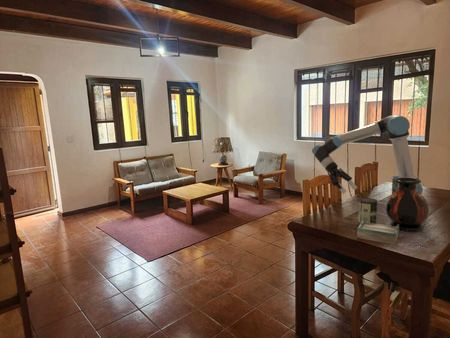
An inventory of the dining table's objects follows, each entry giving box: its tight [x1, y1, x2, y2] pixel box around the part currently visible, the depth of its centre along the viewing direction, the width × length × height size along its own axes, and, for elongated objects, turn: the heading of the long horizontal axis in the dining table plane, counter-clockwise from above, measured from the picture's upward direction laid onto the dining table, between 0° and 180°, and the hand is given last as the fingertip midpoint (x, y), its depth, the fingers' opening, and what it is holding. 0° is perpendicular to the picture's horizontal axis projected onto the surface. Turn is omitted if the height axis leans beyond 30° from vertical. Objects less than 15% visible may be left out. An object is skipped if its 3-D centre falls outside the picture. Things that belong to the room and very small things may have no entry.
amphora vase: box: [385, 178, 431, 233], centre depth 170 cm, size 22×22×28 cm
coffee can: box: [357, 197, 378, 224], centre depth 182 cm, size 10×10×14 cm
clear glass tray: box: [356, 219, 400, 245], centre depth 161 cm, size 16×18×6 cm
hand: (350, 190), depth 188 cm, fingers open, 13 cm apart
